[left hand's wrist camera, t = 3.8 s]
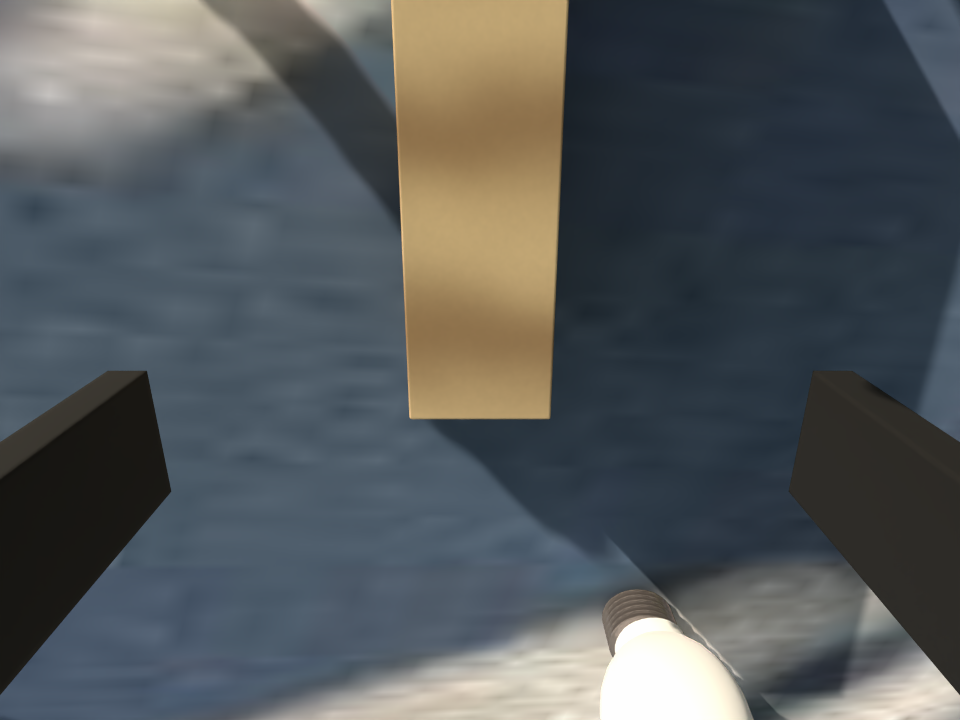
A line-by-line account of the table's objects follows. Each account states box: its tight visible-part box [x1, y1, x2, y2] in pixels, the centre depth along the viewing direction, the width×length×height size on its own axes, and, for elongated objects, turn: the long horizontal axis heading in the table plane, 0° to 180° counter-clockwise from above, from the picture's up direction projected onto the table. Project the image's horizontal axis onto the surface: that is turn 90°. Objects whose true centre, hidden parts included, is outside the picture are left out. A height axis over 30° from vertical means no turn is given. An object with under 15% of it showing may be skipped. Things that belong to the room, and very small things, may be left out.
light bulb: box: [600, 590, 753, 720], centre depth 30 cm, size 7×7×11 cm
